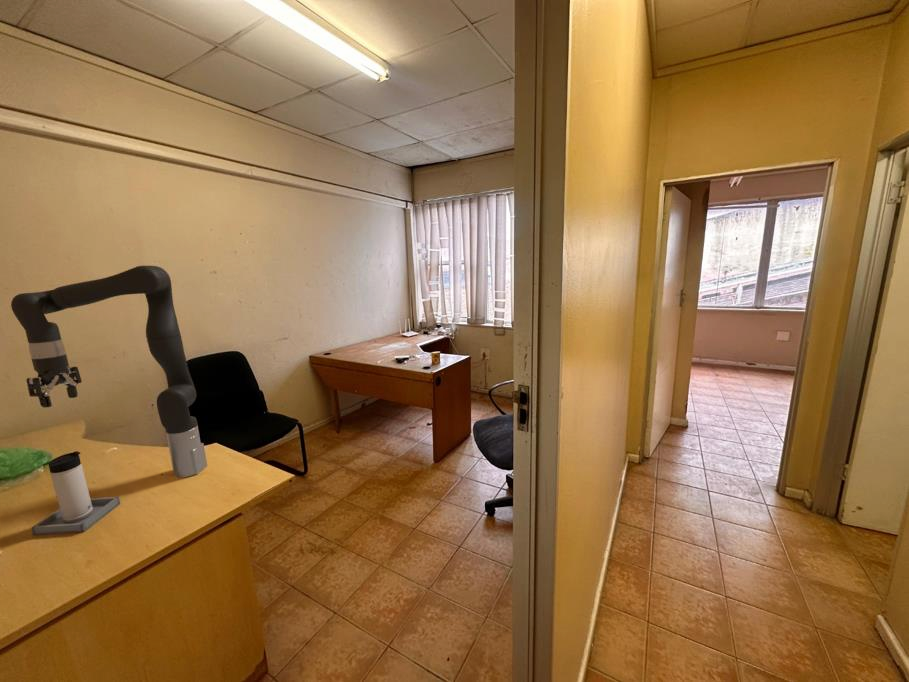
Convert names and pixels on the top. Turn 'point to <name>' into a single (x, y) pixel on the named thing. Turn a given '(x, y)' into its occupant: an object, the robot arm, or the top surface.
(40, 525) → the tray
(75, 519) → the travel mug
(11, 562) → the top surface
